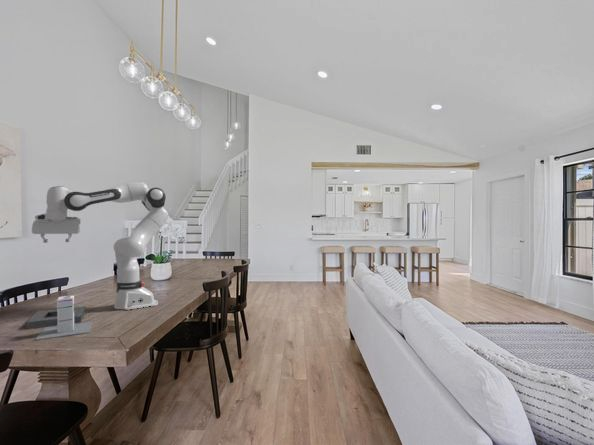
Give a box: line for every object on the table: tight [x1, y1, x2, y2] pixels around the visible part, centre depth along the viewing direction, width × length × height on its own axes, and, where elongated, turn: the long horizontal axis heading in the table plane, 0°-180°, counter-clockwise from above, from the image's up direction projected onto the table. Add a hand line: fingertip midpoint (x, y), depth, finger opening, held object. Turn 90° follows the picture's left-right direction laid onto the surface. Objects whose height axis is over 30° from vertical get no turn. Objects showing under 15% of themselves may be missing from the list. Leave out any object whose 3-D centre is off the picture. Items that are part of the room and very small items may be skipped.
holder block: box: [25, 305, 87, 330], centre depth 150 cm, size 20×20×3 cm
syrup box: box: [56, 295, 75, 333], centre depth 134 cm, size 6×6×14 cm
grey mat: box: [35, 321, 94, 341], centre depth 135 cm, size 18×16×1 cm
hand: (56, 242), depth 164 cm, fingers open, 8 cm apart
